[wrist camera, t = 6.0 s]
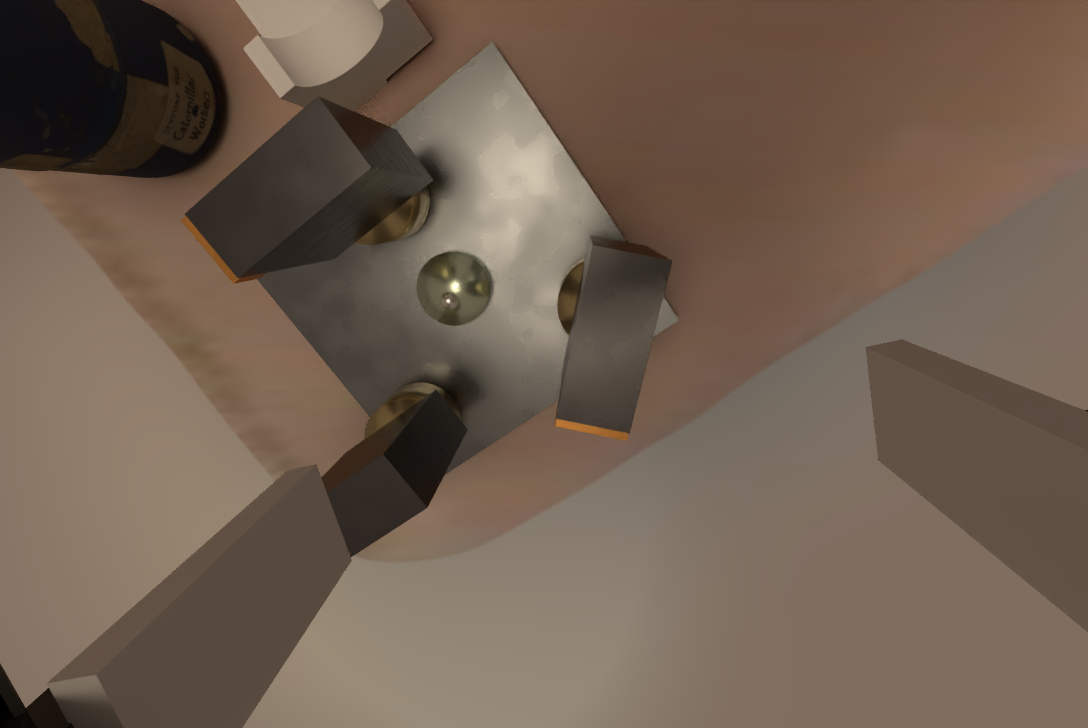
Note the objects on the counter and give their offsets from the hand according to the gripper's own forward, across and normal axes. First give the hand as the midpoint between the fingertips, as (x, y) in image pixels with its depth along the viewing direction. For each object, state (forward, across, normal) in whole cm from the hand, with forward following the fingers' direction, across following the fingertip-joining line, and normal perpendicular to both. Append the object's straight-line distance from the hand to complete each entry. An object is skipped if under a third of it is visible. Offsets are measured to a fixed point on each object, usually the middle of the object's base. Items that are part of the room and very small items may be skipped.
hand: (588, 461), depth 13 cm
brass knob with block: (+22, -12, -5) cm, 26 cm away
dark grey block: (+22, +1, +1) cm, 22 cm away
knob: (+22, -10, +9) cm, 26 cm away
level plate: (+23, -7, +3) cm, 24 cm away
